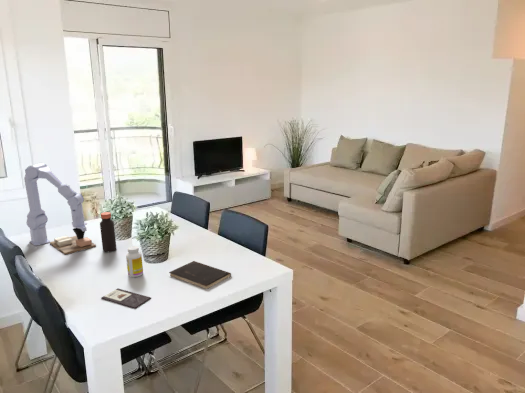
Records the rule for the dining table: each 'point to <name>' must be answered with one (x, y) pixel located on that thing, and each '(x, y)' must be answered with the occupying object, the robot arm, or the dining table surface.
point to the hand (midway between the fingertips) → (80, 240)
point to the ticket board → (68, 244)
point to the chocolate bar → (126, 298)
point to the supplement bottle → (134, 262)
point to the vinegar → (107, 232)
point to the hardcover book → (200, 274)
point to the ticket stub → (83, 242)
